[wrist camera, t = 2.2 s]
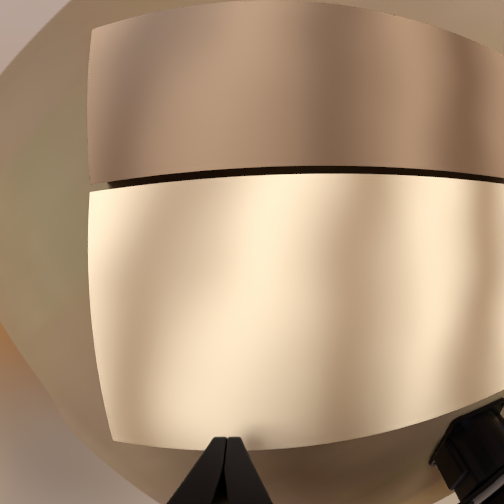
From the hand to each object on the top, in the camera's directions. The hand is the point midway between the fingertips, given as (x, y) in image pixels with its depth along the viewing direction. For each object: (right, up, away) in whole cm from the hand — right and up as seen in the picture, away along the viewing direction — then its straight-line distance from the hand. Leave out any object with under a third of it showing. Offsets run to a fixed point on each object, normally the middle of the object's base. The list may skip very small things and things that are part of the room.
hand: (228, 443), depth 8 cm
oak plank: (+5, +4, +3) cm, 7 cm away
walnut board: (+4, +13, +3) cm, 14 cm away
